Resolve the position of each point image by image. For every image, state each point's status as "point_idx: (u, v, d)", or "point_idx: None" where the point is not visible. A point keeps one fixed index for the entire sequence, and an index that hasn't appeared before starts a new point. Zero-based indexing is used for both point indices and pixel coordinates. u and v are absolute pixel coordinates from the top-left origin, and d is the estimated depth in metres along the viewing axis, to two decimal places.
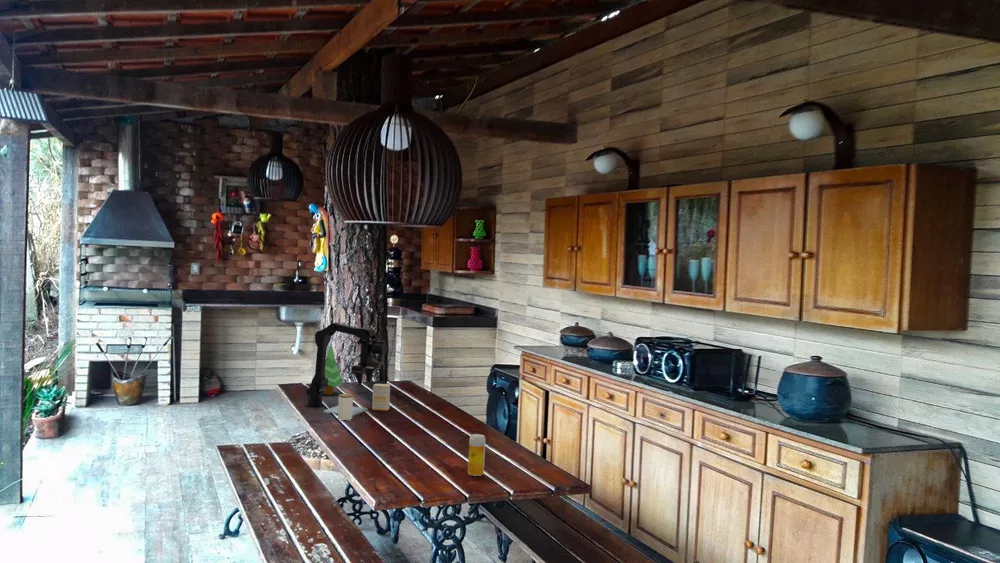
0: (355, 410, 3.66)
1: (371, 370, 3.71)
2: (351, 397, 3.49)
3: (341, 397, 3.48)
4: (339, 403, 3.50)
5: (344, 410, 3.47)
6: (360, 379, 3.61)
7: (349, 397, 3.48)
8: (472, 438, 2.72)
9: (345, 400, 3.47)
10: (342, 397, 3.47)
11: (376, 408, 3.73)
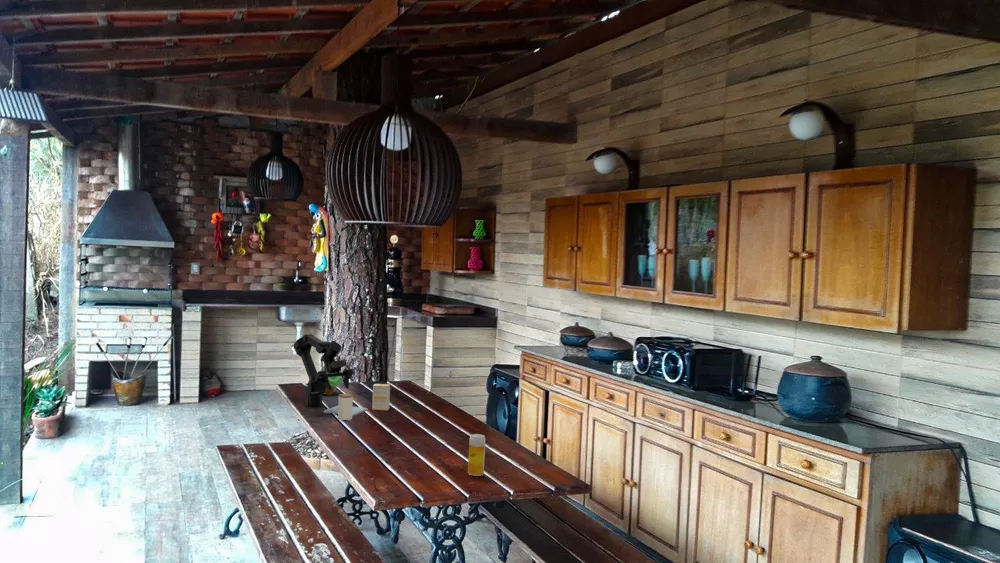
0: (355, 410, 3.66)
1: (345, 377, 3.62)
2: (351, 397, 3.49)
3: (341, 397, 3.48)
4: (339, 403, 3.50)
5: (344, 410, 3.47)
6: (327, 384, 3.53)
7: (349, 397, 3.48)
8: (472, 438, 2.72)
9: (345, 400, 3.47)
10: (342, 397, 3.47)
11: (376, 408, 3.73)
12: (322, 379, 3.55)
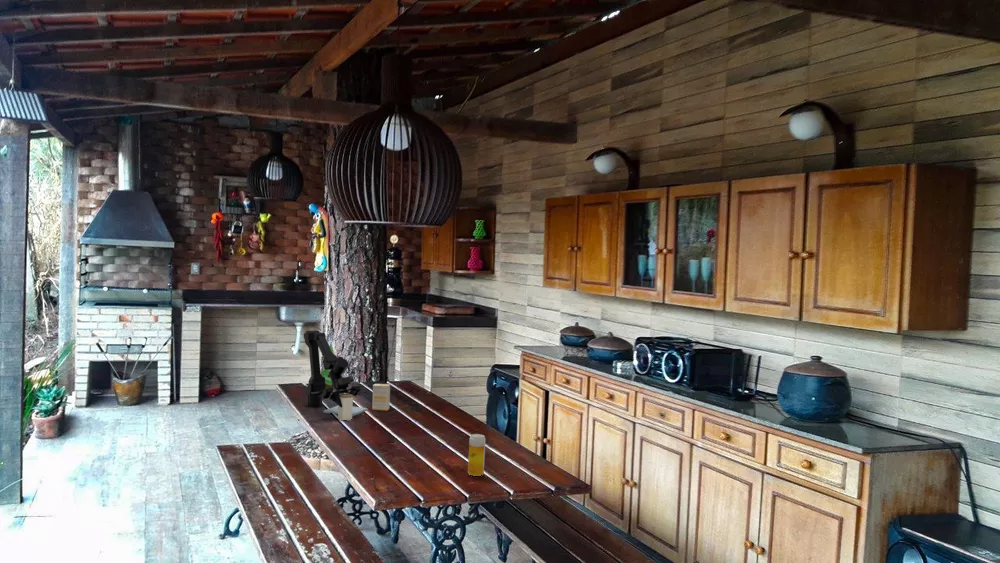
0: (355, 410, 3.66)
1: None
2: (351, 397, 3.49)
3: (341, 397, 3.48)
4: None
5: (344, 410, 3.47)
6: (338, 401, 3.48)
7: (349, 397, 3.48)
8: (472, 438, 2.72)
9: (345, 400, 3.47)
10: (342, 397, 3.47)
11: (376, 408, 3.73)
12: (333, 396, 3.49)
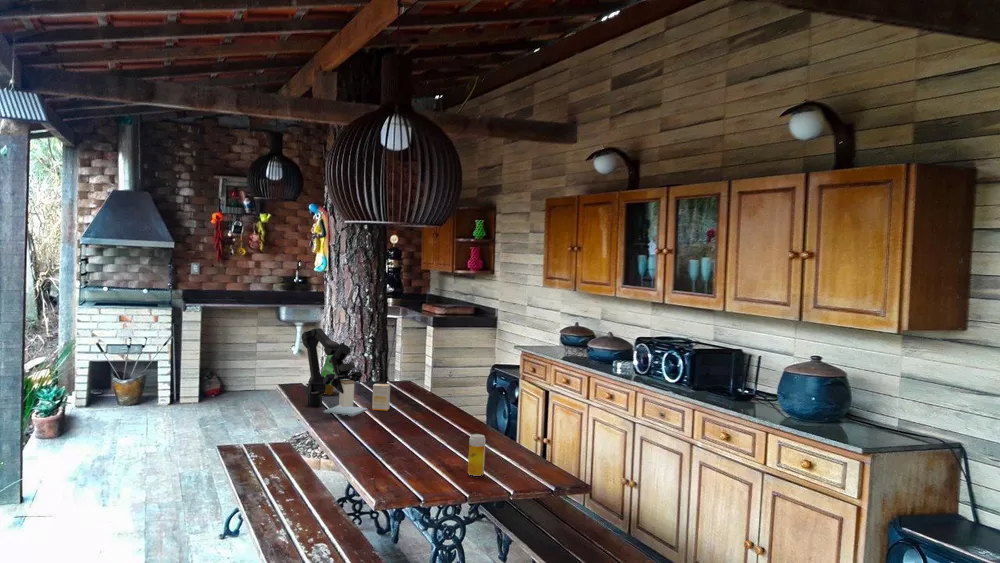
0: (355, 410, 3.66)
1: None
2: (352, 383, 3.50)
3: (343, 383, 3.48)
4: None
5: (345, 397, 3.48)
6: (339, 387, 3.49)
7: (350, 383, 3.49)
8: (472, 438, 2.72)
9: (346, 386, 3.48)
10: (343, 383, 3.48)
11: (376, 408, 3.73)
12: (334, 382, 3.50)
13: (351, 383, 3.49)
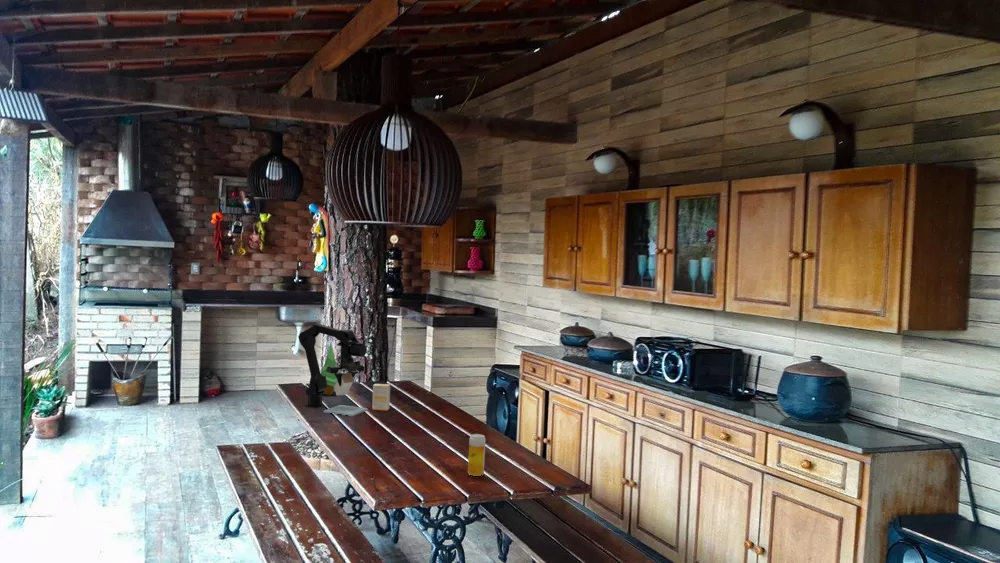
0: (355, 410, 3.66)
1: (351, 373, 3.69)
2: (351, 382, 3.66)
3: (343, 379, 3.64)
4: None
5: (341, 389, 3.67)
6: (339, 380, 3.65)
7: (350, 382, 3.65)
8: (472, 438, 2.72)
9: (345, 384, 3.65)
10: (343, 380, 3.64)
11: (376, 408, 3.73)
12: (336, 373, 3.64)
13: (350, 382, 3.65)
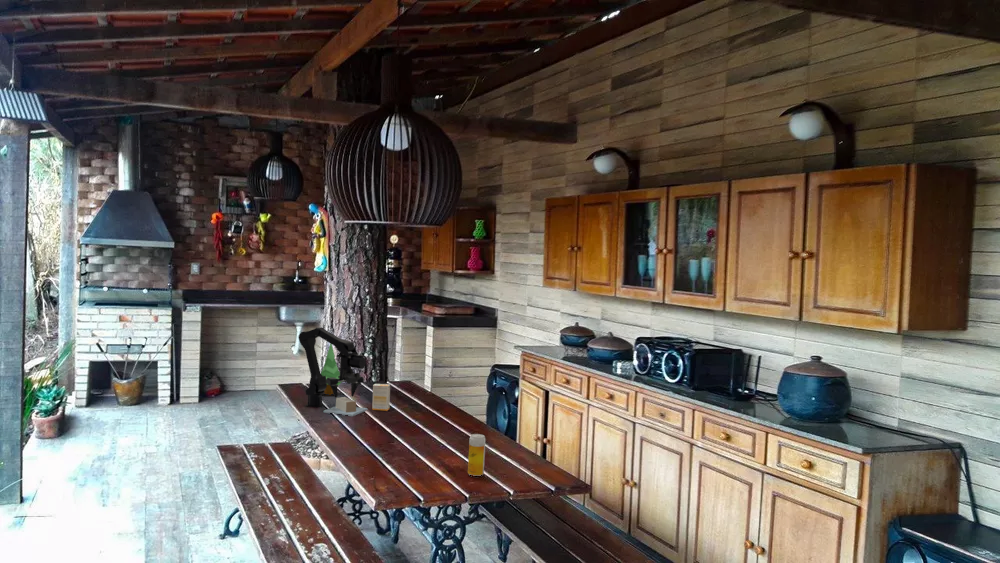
0: None
1: (354, 384, 3.71)
2: None
3: (346, 408, 3.61)
4: (343, 403, 3.64)
5: None
6: (334, 392, 3.64)
7: None
8: (472, 438, 2.72)
9: None
10: (346, 409, 3.61)
11: (376, 408, 3.73)
12: None
13: None
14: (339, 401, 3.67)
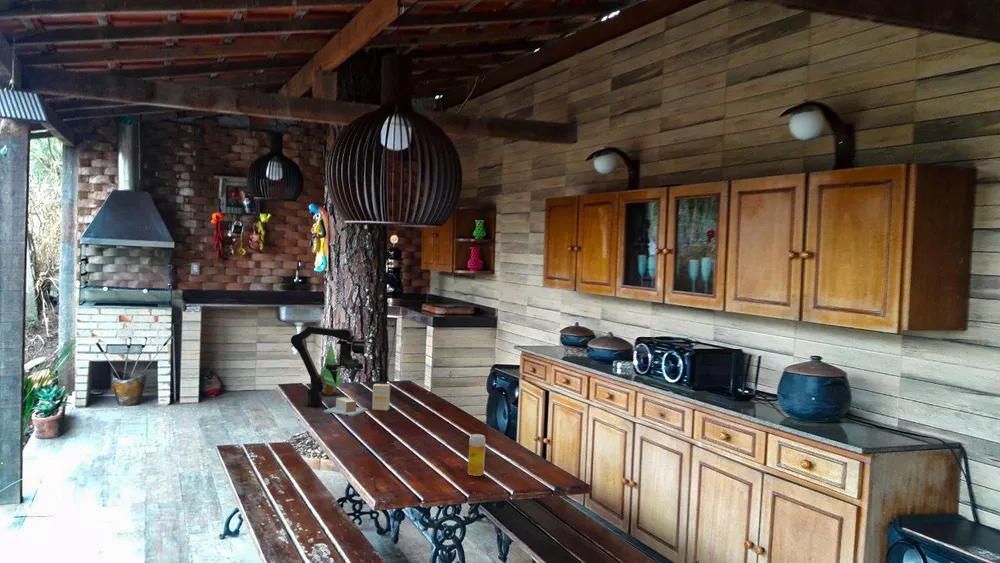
0: None
1: (354, 371, 3.77)
2: None
3: (346, 408, 3.61)
4: (343, 403, 3.64)
5: None
6: (334, 377, 3.71)
7: None
8: (472, 438, 2.72)
9: None
10: (346, 409, 3.61)
11: (376, 408, 3.73)
12: None
13: None
14: (339, 401, 3.67)
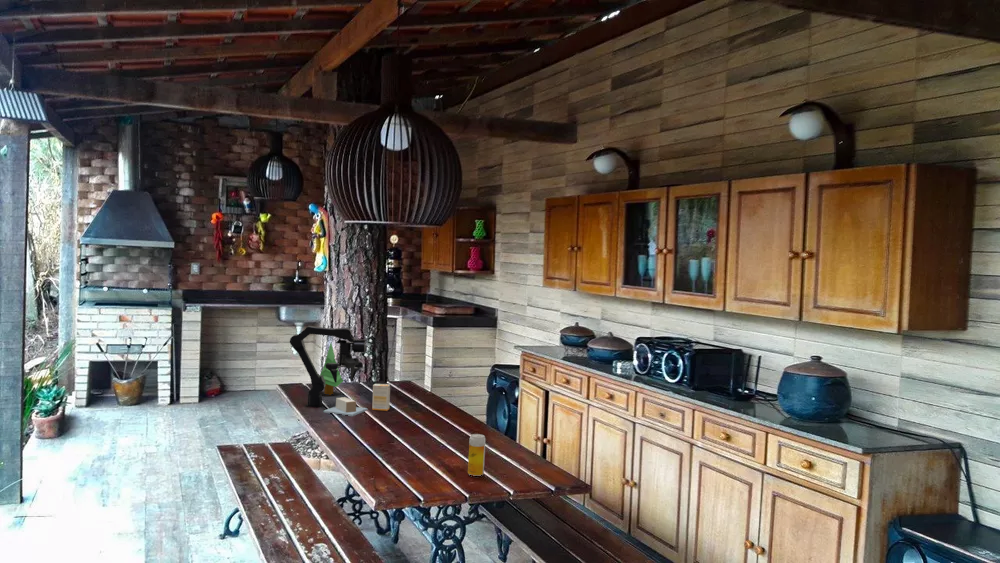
0: None
1: (353, 369, 3.80)
2: None
3: (346, 408, 3.61)
4: (343, 403, 3.64)
5: None
6: (334, 377, 3.73)
7: None
8: (472, 438, 2.72)
9: None
10: (346, 409, 3.61)
11: (376, 408, 3.73)
12: None
13: None
14: (339, 401, 3.67)
